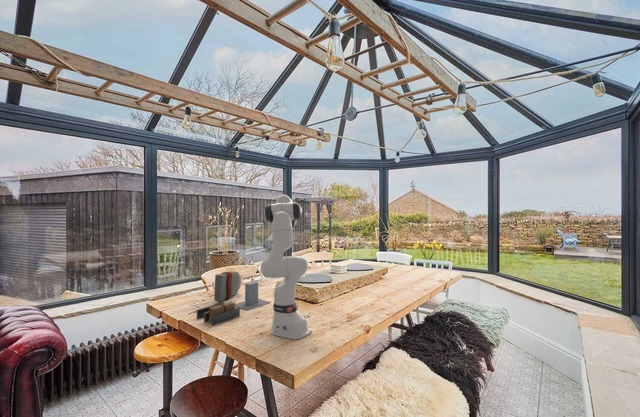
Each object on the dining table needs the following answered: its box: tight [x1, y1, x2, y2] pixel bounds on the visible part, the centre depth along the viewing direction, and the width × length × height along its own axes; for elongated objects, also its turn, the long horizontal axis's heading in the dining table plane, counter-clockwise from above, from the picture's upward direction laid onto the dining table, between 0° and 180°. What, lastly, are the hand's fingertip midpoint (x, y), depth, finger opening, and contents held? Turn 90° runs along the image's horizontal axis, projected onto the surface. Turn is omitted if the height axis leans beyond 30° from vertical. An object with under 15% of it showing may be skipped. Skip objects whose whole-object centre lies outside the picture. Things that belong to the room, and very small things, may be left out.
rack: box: [196, 301, 241, 326], centre depth 175 cm, size 17×18×5 cm
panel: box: [244, 281, 259, 305], centre depth 200 cm, size 4×8×14 cm, turn 142°
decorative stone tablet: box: [213, 270, 242, 302], centre depth 214 cm, size 19×6×30 cm
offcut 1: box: [208, 305, 224, 324], centre depth 170 cm, size 4×7×8 cm, turn 142°
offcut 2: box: [221, 301, 236, 312], centre depth 176 cm, size 4×7×8 cm, turn 143°
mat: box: [235, 298, 272, 311], centre depth 200 cm, size 16×20×1 cm
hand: (273, 248), depth 206 cm, fingers open, 8 cm apart
